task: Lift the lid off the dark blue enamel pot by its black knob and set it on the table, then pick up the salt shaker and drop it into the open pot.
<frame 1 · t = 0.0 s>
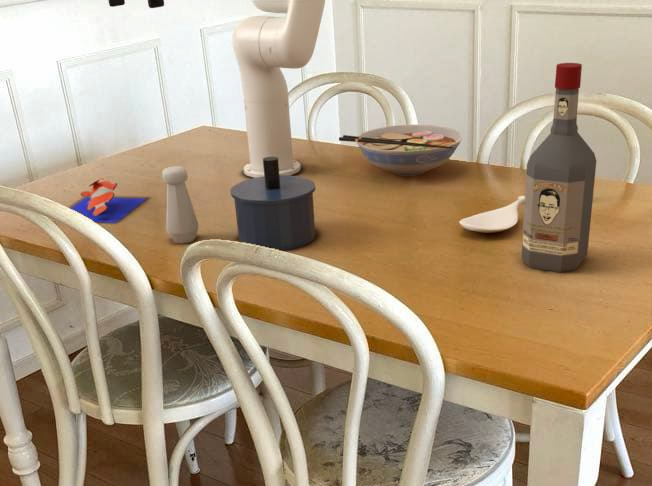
hand: (136, 6, 153), 37 cm above the table, tool pointing down, fingers open, 9 cm apart
lid: (273, 190, 153), point 8 cm above the table, touching pot
salt shaker: (184, 240, 159), on the table
ramen bowl: (409, 172, 190), on the table
liquor: (553, 262, 142), on the table
spoon: (522, 216, 162), on the table
fish: (101, 210, 176), on the table
pot: (277, 237, 157), on the table
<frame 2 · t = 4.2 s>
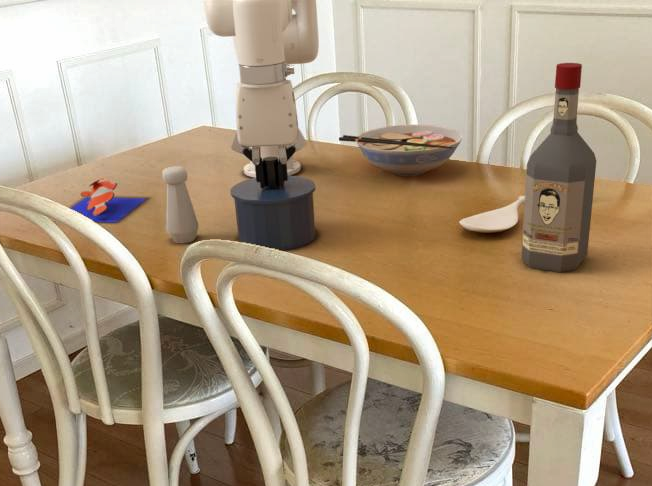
hand: (272, 184, 153), 10 cm above the table, tool pointing down, fingers closed on lid, 2 cm apart
lid: (273, 190, 153), point 9 cm above the table, touching gripper, pot
everything else where it was.
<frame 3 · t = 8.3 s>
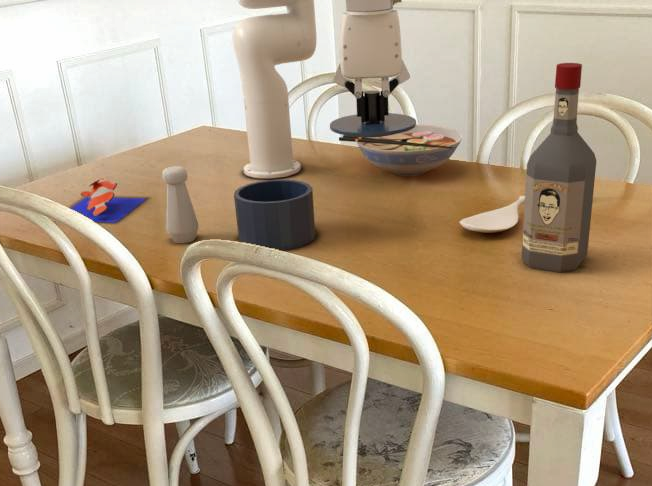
hand: (372, 119, 150), 19 cm above the table, tool pointing down, fingers closed on lid, 2 cm apart
lid: (373, 126, 150), point 18 cm above the table, touching gripper
everything else where it was.
when the fingers open (2 cm above the table, at t = 12.2 s): lid stays where it is, point 1 cm above the table.
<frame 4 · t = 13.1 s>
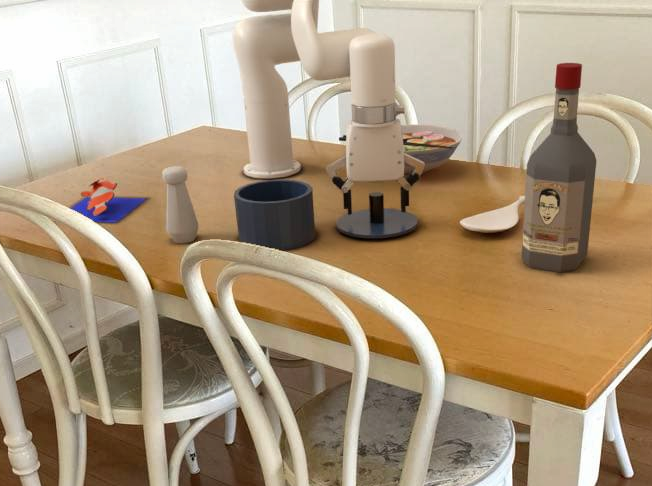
hand: (376, 211, 158), 3 cm above the table, tool pointing down, fingers open, 9 cm apart
lid: (377, 224, 159), point 1 cm above the table
everything else where it was.
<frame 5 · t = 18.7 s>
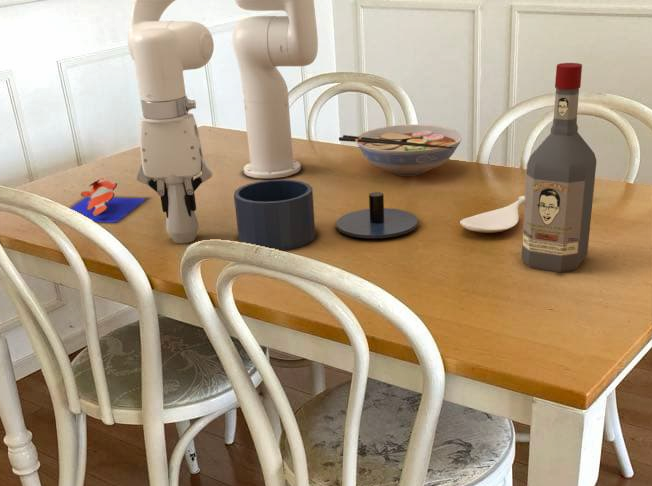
hand: (180, 214, 156), 5 cm above the table, tool pointing down, fingers closed on salt shaker, 3 cm apart
salt shaker: (184, 240, 159), on the table, touching gripper
everything else where it was.
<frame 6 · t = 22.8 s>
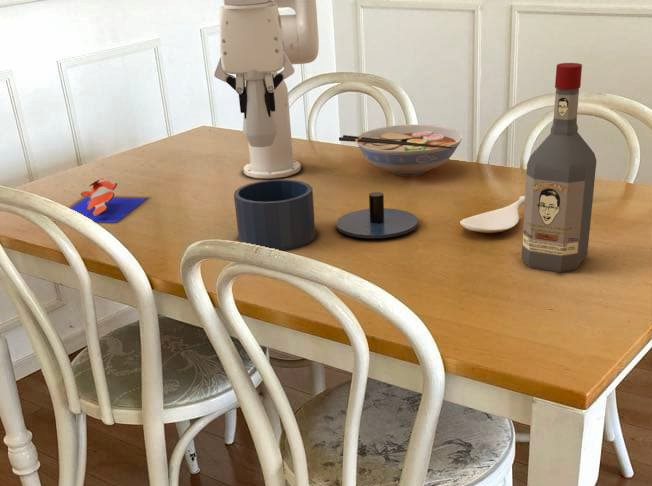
hand: (258, 115, 147), 21 cm above the table, tool pointing down, fingers closed on salt shaker, 3 cm apart
salt shaker: (261, 145, 149), point 16 cm above the table, touching gripper
everything else where it was.
when the fingers open (6 cm above the table, at t = 26.8 s): salt shaker stays where it is, resting on pot.
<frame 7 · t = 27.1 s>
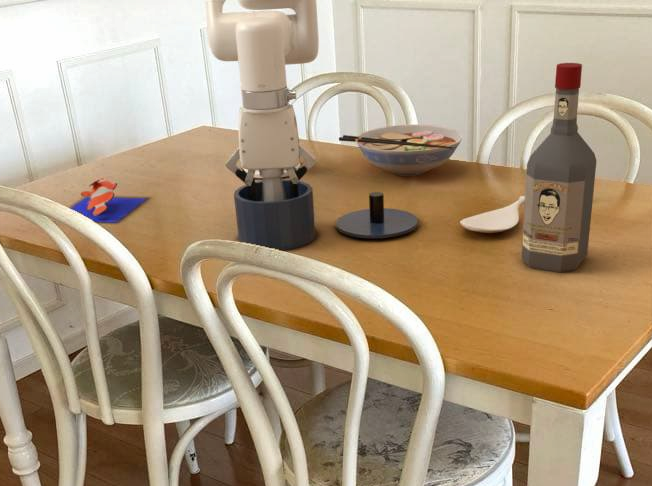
hand: (274, 204, 154), 6 cm above the table, tool pointing down, fingers open, 6 cm apart
salt shaker: (277, 235, 157), resting on pot
everything else where it was.
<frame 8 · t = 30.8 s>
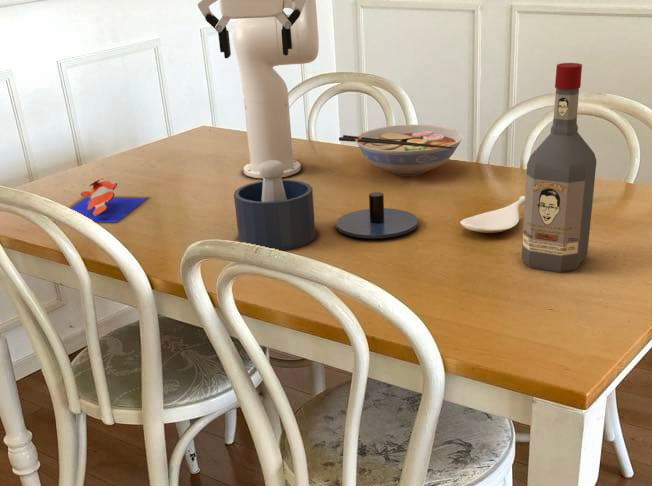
hand: (256, 55, 145), 30 cm above the table, tool pointing down, fingers open, 9 cm apart
nothing on the table moved.
at the end: lid inside the target area (0.1 cm from its centre), point 0.6 cm above the table; salt shaker inside the target area in the pot (0.2 cm from its centre), point 0.3 cm above the pot's base; the gripper is holding nothing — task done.
